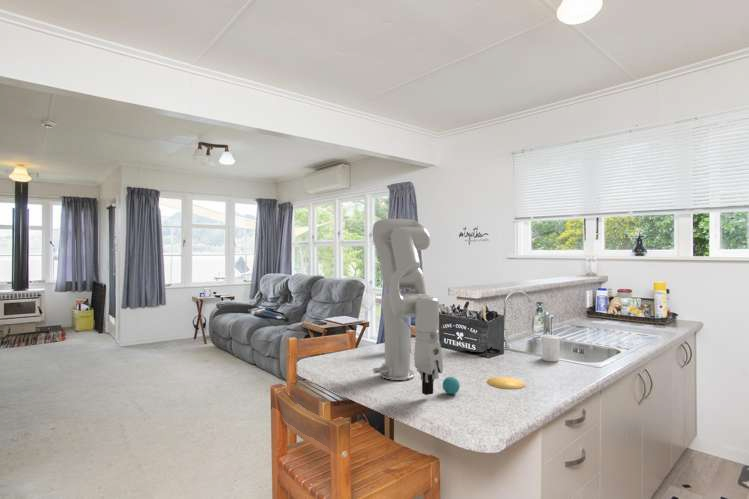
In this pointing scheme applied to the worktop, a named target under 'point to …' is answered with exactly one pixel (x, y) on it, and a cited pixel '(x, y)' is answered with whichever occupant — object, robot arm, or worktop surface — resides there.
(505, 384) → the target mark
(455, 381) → the ball
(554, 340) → the white cup
